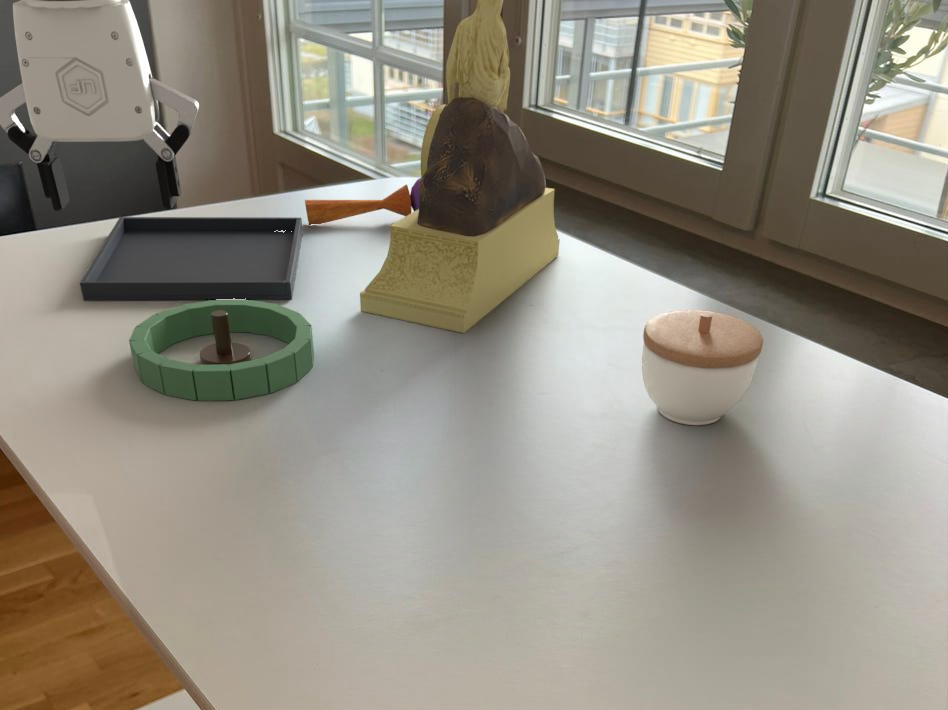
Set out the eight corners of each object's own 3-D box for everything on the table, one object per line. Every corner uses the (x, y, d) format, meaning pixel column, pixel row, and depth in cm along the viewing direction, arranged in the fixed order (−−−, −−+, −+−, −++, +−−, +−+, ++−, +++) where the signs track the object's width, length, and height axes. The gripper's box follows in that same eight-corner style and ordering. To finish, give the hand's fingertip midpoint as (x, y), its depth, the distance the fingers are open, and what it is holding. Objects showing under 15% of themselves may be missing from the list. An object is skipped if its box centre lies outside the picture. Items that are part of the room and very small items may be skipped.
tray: (83, 300, 111) (79, 282, 110) (122, 232, 129) (119, 216, 128) (292, 299, 113) (290, 282, 112) (302, 233, 131) (301, 217, 130)
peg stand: (197, 372, 98) (189, 323, 95) (204, 351, 102) (196, 303, 99) (248, 371, 99) (242, 323, 95) (253, 350, 102) (247, 303, 99)
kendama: (302, 186, 133) (447, 170, 136) (309, 234, 136) (452, 216, 139) (304, 191, 128) (455, 173, 131) (312, 240, 131) (459, 222, 134)
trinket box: (674, 446, 89) (691, 347, 83) (612, 396, 97) (624, 301, 91) (769, 425, 93) (792, 328, 87) (703, 378, 100) (720, 286, 94)
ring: (121, 402, 93) (114, 372, 91) (152, 327, 106) (147, 299, 104) (309, 399, 94) (306, 370, 92) (316, 326, 108) (314, 299, 106)
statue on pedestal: (467, 238, 131) (473, -34, 112) (558, 255, 127) (580, -25, 108) (360, 310, 111) (345, -6, 92) (463, 333, 107) (470, 8, 88)
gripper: (-60, -13, 76) (7, 220, 87) (171, -13, 77) (208, 217, 88) (-29, -26, 81) (29, 194, 92) (185, -25, 83) (218, 192, 94)
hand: (116, 205), depth 90 cm, fingers open, 9 cm apart
